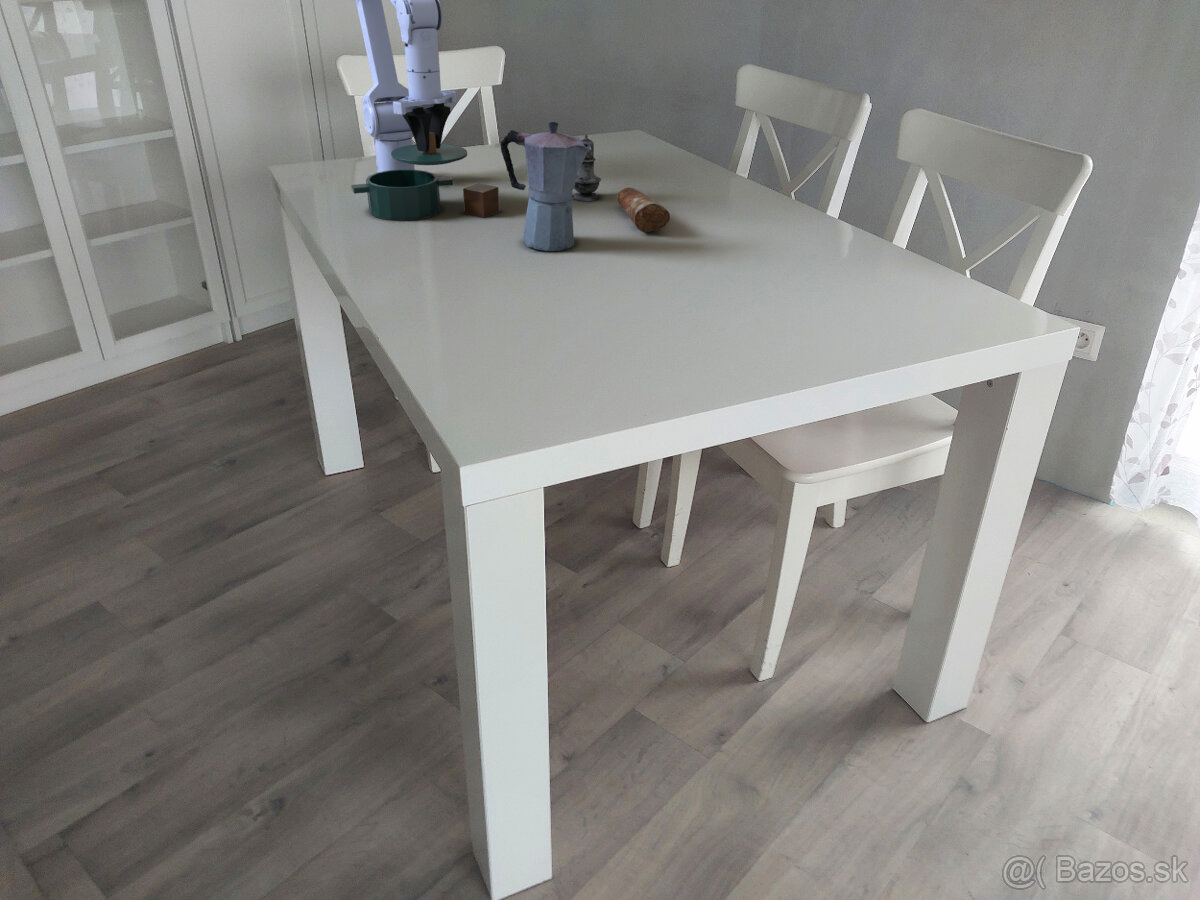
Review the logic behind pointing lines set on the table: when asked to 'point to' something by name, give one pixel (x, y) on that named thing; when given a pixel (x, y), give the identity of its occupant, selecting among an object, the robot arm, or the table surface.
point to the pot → (403, 194)
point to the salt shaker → (587, 177)
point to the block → (481, 200)
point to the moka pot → (548, 185)
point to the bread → (643, 210)
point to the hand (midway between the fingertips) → (429, 149)
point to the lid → (429, 153)
